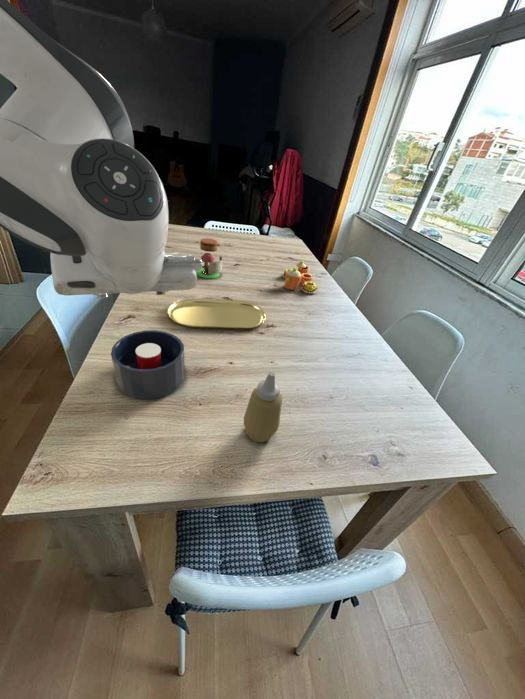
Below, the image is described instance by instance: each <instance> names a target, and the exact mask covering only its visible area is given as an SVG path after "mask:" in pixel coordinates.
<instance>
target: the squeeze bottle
mask: <svg viewBox="0 0 525 699" xmlns="http://www.w3.org/2000/svg"><path fill="white" fill-rule="evenodd" d="M282 406H283V396H282V394H281V387H280V385H279V384H278V383H277V382H276V373H275V372H274V371H270V372H268V374H267V376H266V378H265V379H263V380H261V381H259V382H258V384H257V386H256V387H255V388H254V389H253V390H252V392H251V394H250V397H249V400H248V404H247V406H246V409H245V412H244V416H243V425H244V429H245V431H246V434H247V436H248V437H249V439H250V440H252V441H254V442H256V443H264V442H267V441H269V440H270V439H271V438H272V437H273V436H274V435H275V434H276V433H277V432H278V430H279V427H280V422H281V413H282Z"/></svg>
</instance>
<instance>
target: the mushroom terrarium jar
mask: <svg viewBox="0 0 525 699" xmlns="http://www.w3.org/2000/svg"><path fill="white" fill-rule="evenodd" d="M218 244H219V242H218V241H217V240H216V239H214V238H207V237H206V238H201V239H200V248H199V249H200V250H201V251H204V253H203V255H201V256H200V259H201V260H202V262H203V266H202V268H201V269H200V270H199V271H197V272H196V275H197V277H199V278H203V279H209V280H210V279H211V280H212V279H217V278H219V277H220V275H221V272H222V271H223V257H222V256H221V255H219V261H215V256H214V255H213V254H212V253H214V252H217V251H218V246H219V245H218ZM204 270H205V271H204ZM203 271H204V273H203ZM205 273H206V274H205Z"/></svg>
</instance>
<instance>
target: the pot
mask: <svg viewBox="0 0 525 699" xmlns="http://www.w3.org/2000/svg"><path fill="white" fill-rule="evenodd" d="M146 343H153V344H157V345H158V346H159V347H160V348H161V364H162V367H158V368H154V369H138V362H137V355H136V348H137V347H138V346H140V345H142V344H146ZM110 358H111V362H112V366H113V371H114V376H115V381H116V383H117V386H118V388H119V390H120V391H121V392H122V393H123V394H125V395H126V396H128V397H130V398H134V399H137V400H155V399H161V398H164V397H166V396H168V395H170V394H172V393H174V392H175V391H176V390H178V389H179V388H180V387H181V385H182V384H183V382H184V380H185V376H186V374H185V370H186V369H185V344H184V343H183V341H182V340H181V338H179V337H178V336H177V335H175V334H172V333H170V332H167V331H163V330H157V329H151V330H149V329H148V330H147V329H145V330H141V331H135V332H132V333H129V334H126V335H124V336H123V337H122V338H119V339H118V340H117V341H115V343H114V344H113V346H112V348H111V352H110Z"/></svg>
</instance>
